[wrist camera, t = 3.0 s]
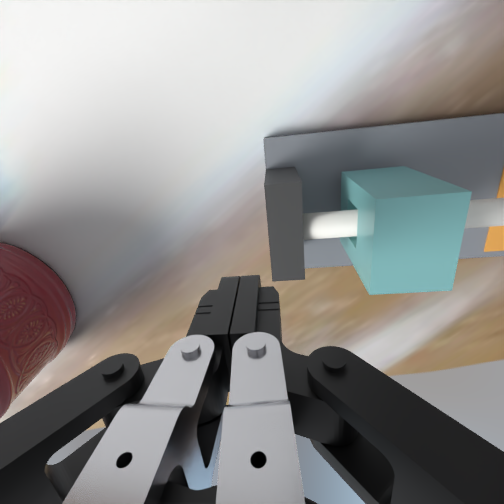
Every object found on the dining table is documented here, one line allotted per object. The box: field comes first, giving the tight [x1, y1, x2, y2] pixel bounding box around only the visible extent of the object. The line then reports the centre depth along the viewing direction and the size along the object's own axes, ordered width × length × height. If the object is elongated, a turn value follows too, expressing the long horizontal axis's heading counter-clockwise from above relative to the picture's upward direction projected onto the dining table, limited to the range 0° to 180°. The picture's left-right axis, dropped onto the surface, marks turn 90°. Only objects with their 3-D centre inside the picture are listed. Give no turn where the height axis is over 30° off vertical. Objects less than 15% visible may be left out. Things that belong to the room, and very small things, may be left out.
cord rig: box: [264, 113, 504, 281], centre depth 18 cm, size 10×22×8 cm, turn 96°
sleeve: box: [340, 166, 472, 295], centre depth 17 cm, size 5×4×7 cm
